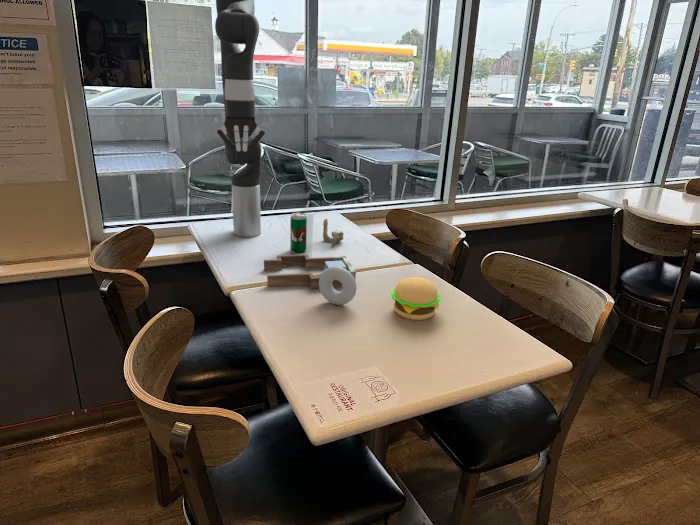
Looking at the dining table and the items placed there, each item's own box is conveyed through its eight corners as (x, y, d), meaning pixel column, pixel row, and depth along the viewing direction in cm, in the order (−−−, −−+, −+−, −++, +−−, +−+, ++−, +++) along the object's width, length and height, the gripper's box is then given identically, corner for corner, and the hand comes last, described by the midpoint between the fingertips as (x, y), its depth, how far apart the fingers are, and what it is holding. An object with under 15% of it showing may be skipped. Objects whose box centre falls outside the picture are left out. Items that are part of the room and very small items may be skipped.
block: (324, 272, 142) (324, 261, 141) (341, 271, 144) (341, 260, 142) (328, 279, 138) (329, 268, 137) (346, 278, 139) (346, 266, 138)
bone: (352, 241, 164) (338, 217, 159) (337, 252, 162) (323, 229, 158) (340, 235, 171) (327, 212, 166) (326, 246, 170) (312, 223, 165)
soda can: (307, 248, 160) (308, 212, 155) (304, 253, 155) (305, 217, 151) (292, 247, 160) (292, 211, 156) (288, 252, 156) (288, 215, 151)
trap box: (263, 265, 144) (263, 256, 143) (343, 262, 150) (343, 252, 149) (268, 291, 128) (268, 281, 127) (358, 286, 134) (358, 276, 133)
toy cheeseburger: (381, 304, 125) (384, 273, 121) (423, 298, 129) (426, 268, 126) (404, 326, 114) (407, 293, 111) (448, 319, 119) (452, 286, 116)
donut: (357, 305, 123) (359, 268, 120) (351, 311, 120) (354, 273, 117) (322, 296, 127) (323, 260, 123) (315, 302, 124) (316, 265, 120)
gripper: (264, 98, 133) (265, 162, 140) (213, 96, 130) (217, 162, 137) (266, 100, 127) (267, 167, 133) (213, 98, 124) (217, 167, 130)
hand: (242, 164), depth 135 cm, fingers closed
